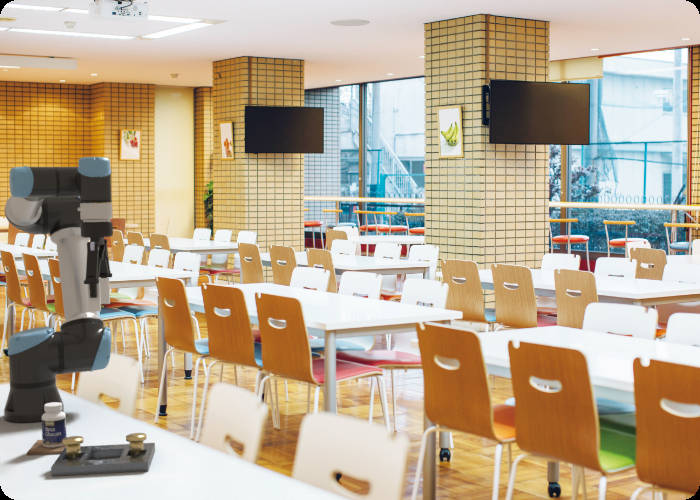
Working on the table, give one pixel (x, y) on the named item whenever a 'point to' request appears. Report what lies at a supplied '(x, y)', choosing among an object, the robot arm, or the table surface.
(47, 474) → the table surface
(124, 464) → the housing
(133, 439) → the plunger
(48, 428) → the pill bottle
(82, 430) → the table surface
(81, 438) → the plunger
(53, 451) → the coaster
